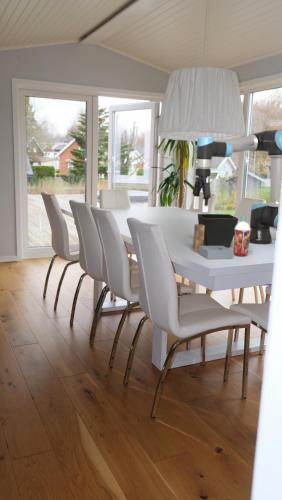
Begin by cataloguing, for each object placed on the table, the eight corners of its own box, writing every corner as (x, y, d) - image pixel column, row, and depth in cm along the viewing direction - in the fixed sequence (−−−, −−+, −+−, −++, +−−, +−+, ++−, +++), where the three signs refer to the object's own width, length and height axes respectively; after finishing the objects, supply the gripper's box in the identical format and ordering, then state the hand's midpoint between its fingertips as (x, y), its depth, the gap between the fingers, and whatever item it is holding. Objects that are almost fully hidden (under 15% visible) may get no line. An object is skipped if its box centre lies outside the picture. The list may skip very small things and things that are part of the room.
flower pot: (202, 248, 241) (204, 217, 238) (195, 242, 259) (197, 213, 256) (236, 249, 243) (239, 218, 239) (227, 242, 261) (229, 214, 258)
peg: (200, 250, 235) (201, 224, 232) (202, 252, 231) (204, 225, 228) (193, 250, 234) (194, 224, 231) (195, 252, 230) (197, 225, 227)
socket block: (222, 253, 230) (222, 245, 229) (232, 259, 217) (233, 251, 217) (198, 253, 227) (198, 245, 226) (207, 259, 215) (208, 251, 214)
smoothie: (251, 257, 223) (254, 217, 219) (234, 256, 222) (238, 217, 219) (246, 253, 231) (249, 215, 227) (230, 253, 231) (233, 215, 227)
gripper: (188, 167, 235) (185, 207, 239) (204, 168, 211) (201, 213, 215) (201, 167, 236) (198, 207, 241) (219, 169, 213) (216, 213, 217)
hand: (200, 210), depth 228 cm, fingers open, 13 cm apart
